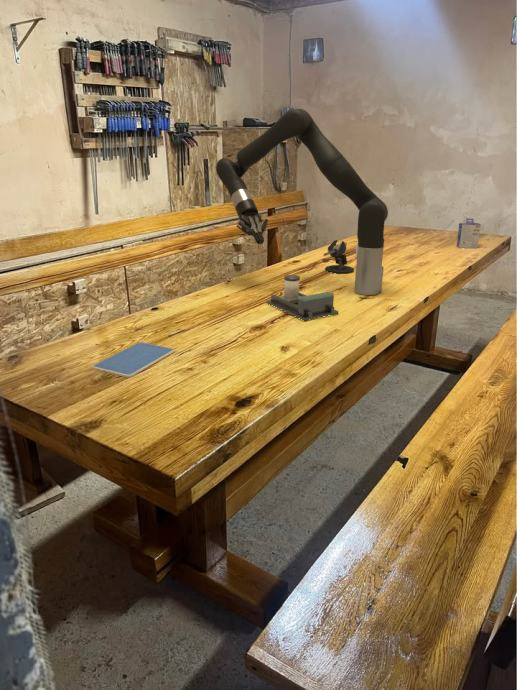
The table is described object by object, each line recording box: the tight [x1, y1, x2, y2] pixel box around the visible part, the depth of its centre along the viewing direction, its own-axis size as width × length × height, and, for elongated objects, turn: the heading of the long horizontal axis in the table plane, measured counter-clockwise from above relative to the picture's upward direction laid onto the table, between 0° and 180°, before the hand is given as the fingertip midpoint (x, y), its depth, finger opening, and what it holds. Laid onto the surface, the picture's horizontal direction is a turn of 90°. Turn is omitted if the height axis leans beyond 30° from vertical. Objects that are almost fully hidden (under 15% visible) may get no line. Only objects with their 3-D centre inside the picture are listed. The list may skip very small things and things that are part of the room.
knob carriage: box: [279, 274, 301, 303], centre depth 185 cm, size 7×6×8 cm
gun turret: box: [322, 239, 355, 275], centre depth 228 cm, size 13×20×13 cm, turn 146°
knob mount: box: [266, 291, 340, 321], centre depth 181 cm, size 14×22×7 cm, turn 32°
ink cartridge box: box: [456, 218, 482, 249], centre depth 279 cm, size 10×6×14 cm, turn 89°
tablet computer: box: [91, 341, 176, 379], centre depth 141 cm, size 19×13×1 cm, turn 153°
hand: (261, 242), depth 196 cm, fingers closed
